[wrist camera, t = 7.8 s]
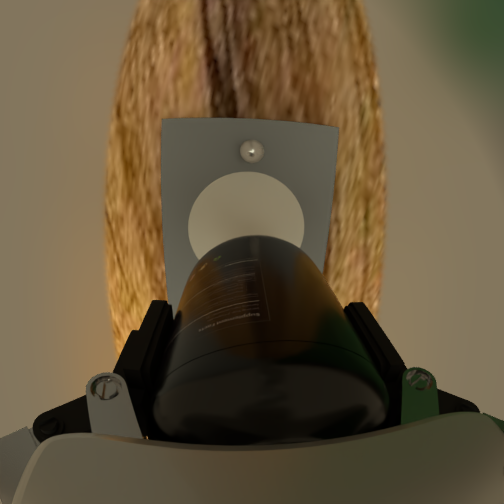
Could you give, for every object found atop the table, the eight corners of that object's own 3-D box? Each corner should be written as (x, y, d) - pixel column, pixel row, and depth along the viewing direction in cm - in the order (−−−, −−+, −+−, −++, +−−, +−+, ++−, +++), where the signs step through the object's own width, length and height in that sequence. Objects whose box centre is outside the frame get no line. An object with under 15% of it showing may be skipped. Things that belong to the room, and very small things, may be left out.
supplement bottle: (345, 299, 15) (457, 508, 4) (246, 366, 16) (260, 571, 5) (264, 197, 12) (398, 509, 1) (157, 288, 14) (67, 532, 3)
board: (165, 119, 21) (151, 116, 17) (334, 127, 22) (352, 126, 18) (172, 311, 28) (164, 337, 24) (311, 313, 29) (321, 339, 25)
